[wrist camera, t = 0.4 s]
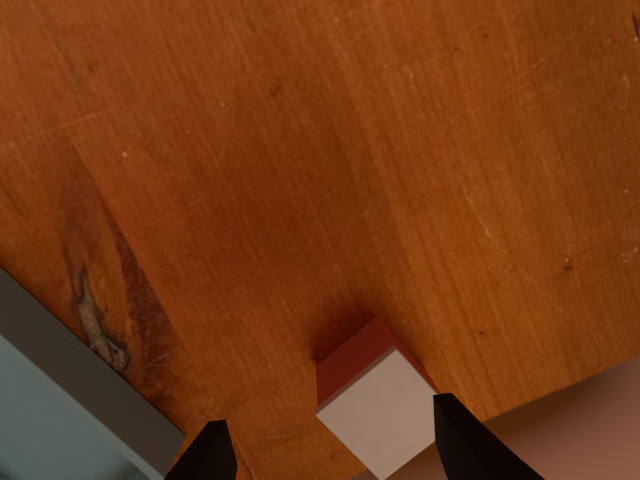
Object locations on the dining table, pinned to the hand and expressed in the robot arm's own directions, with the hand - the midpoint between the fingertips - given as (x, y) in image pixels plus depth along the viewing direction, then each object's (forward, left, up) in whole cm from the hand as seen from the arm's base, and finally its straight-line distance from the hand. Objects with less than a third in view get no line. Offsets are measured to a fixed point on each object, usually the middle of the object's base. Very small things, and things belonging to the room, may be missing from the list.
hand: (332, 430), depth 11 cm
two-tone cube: (0, -4, -9) cm, 10 cm away
